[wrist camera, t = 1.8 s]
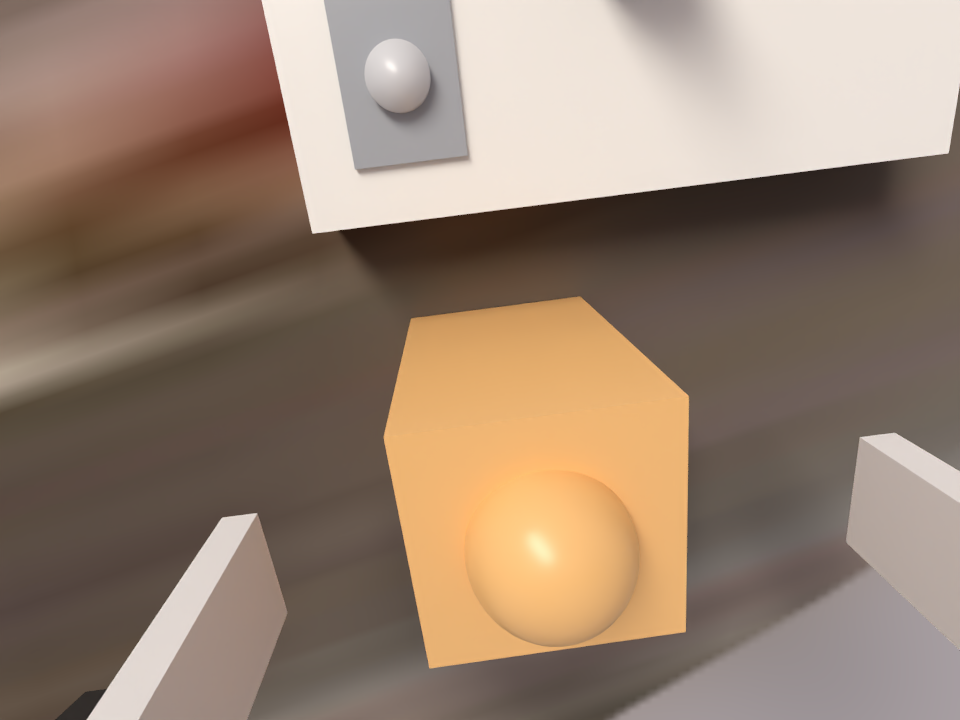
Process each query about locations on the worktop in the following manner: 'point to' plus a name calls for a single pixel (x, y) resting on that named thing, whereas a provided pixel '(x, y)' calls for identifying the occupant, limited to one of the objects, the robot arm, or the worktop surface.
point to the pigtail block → (597, 96)
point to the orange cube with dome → (538, 482)
